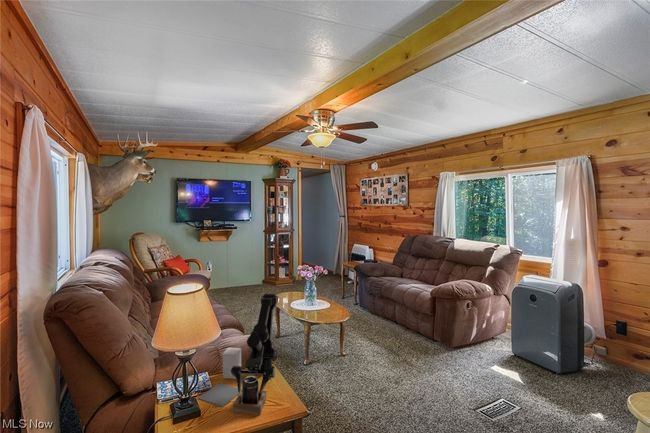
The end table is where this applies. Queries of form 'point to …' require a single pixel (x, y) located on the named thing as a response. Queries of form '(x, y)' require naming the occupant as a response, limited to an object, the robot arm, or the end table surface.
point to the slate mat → (220, 394)
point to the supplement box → (231, 361)
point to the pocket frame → (249, 405)
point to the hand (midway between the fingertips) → (249, 392)
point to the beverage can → (250, 390)
